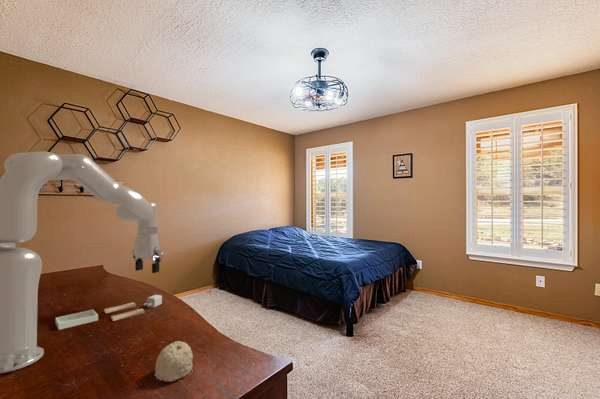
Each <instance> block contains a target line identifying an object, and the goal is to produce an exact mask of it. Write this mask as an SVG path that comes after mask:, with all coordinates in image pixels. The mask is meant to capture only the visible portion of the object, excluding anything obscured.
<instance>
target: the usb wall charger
mask: <svg viewBox="0 0 600 399" xmlns="http://www.w3.org/2000/svg"><path fill="white" fill-rule="evenodd" d="M162 303H163V296H162V295H161V294H154V295H152V296H148V297H146V302H145V303H143V305H144V306H146V307H147V308H154V309H155V308H156V307H158V306H160V305H162Z"/></svg>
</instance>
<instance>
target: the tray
mask: <svg viewBox="0 0 600 399" xmlns="http://www.w3.org/2000/svg"><path fill="white" fill-rule="evenodd" d="M97 321H99V314H98V313H97V312H96V311H95V310H94V309H89V310H85V311H80V312H76V313H70V314H66V315H62V316H57V317H55V321H54V322H55V326H56V328H57V329H58V330H59V331H60V330H64V329H67V328H72V327H76V326H80V325H85V324H88V323H89V324H90V323H92V322H97Z"/></svg>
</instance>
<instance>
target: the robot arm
mask: <svg viewBox="0 0 600 399" xmlns="http://www.w3.org/2000/svg"><path fill="white" fill-rule="evenodd" d="M3 165H4V166H3V167H4V170H5V172H4V174H2V176H1V178H0V374H5V373H6V374H7V373H9V372H13V371H16V370H20V369H22V368H26V367H27V366H30V365H32V364H33V363H36V362H37V361H39V360H40V359H41V358H42V357H43V356H44V354H45V350H44V348H42V347H40V346H38V345H37V344H38V342H37V341H38V340H37V339H38V302H39V301H38V294H39V293H38V291H39V283H40V278H41V275H42V270H43V261H42V260H43V259H42V258H41V256H40V255H39V254H38V253H37V252H35V251H33V250H31V249H29V248H24V247H16V244H21V243H25V242H27V241H30V240H31V239H32V238H34V236H35V235H36V233H37V229H38V198H39V192H40V190H41V189H42V187H43V186H44V185H45V184H46V183H47V182H48V181H61V180H73V181H75V182H76V183H77V184H79V185H80V186H81V187H83V188H84V189H85V190H86V191H87V192H89V193H90V194H92V196H94V197H96V199H99V200H102V201H104V202H109V203H112V204H116V205H117V207H116V208H115V215H116V216H117V218H118V219H120V220H122V221H125V222H126V221H128V222H130V221H131V222H137V224H136V225H137V228H136V229H137V234H136V236H135V240H134V249H133V250H131V253H132V257H133V259H134V260H133V261H134V262H135V271H136V272H137V271H141V270H144V260H151V261H152V264H151V273H152V274H156V273H158V272H159V273H160V263H161V262H162V259H163V256H164V252H162V250H161V249H160V240H159V234H158V204H157V203H156V202H150V201H148V200H147V198H145V197H144V196H143V195H142V194H140V193H139V192H137V191H135V190H134V189H132V188H130V187H128V186H126V185H124V184H122V183H120V182H118V181H116V180H115V179H113V178H112V177H111V176H110V174H108V173H107V172H106V171H105V170H104V169H102V167H101V166H99V164H97V163H96V162H95V161H94V160H93V159H92V158H91V157H89V156H87V155H85V154H80V153H70V154H56V153H54V152H50V151H45V150H41V151H31V152H30V151H29V152H17V153H14V154H11V155H9V157H7V159H5V161H4V164H3Z"/></svg>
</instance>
